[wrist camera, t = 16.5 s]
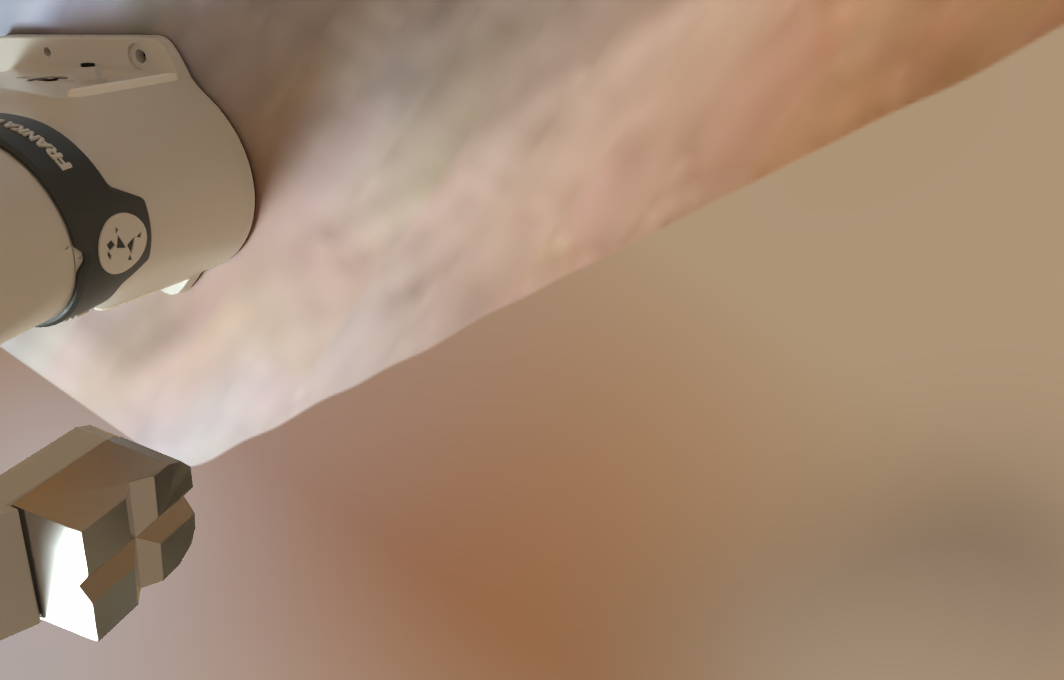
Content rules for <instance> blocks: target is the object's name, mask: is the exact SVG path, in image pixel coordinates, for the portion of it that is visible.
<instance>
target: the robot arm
mask: <svg viewBox="0 0 1064 680" xmlns="http://www.w3.org/2000/svg"><path fill="white" fill-rule="evenodd" d="M143 52H144V53H145V55H146V59H145V58H144V56H143ZM254 208H255V192H254V183H253V177H252V173H251V168H250V165H249V162H248V159H247V156H246V153H245V151H244V148H243V146H242V144H241V142H240V140H239V138H238V136H237V134H236V132H235V130H234V129H233V127H232V126H231V124H230V122H229V121H228V120H227V118H226V117H225V115H224V114H223V113H222V112H221V110H220V109H219V108H218V107H217V106H216V105H215V103H214V102H213V101H212V100H211V99H210V98H209V97H208V96H207V95H206V94H205V93H204V92H203V91H202V90H201V89H200V88H199V87H198V86H197V84H196V83H195V82H194V81H193V79H192V78H191V76H190V74H189V71H188V69H187V68H186V66H185V64H184V62H183V60H182V58H181V56H180V54H179V53H178V51H177V49H176V48H175V46H174V45H173V44H172V43H171V42H170V40H168V39H167V38H166V37H164V36H161V35H62V34H11V35H6V36H2V37H0V344H2V343H4V342H6V341H8V340H10V339H12V338H14V337H16V336H18V335H20V334H21V333H24V332H26V331H28V330H30V329H32V328H34V327H48V326H52V325H56V324H58V323H60V322H63V321H67V320H71V319H73V318H76V317H79V316H81V315H83V314H85V313H87V312H89V309H91V308H95V309H96V310H99V311H104V310H109V309H112V308H115V307H117V306H120V305H123V304H125V303H128V302H131V301H133V300H136V299H139V298H141V297H144V296H147V295H149V294H152V293H154V292H157V291H159V290H161V291H163V292H165V293H167V294H169V295H177V294H180V293H182V292H185V291H187V290H188V289H189V288H191V286H192V285H193V284H194V283H195V281H196V280H197V278H198V277H199V275H200V274H201V273H202V272H203V271H205V270H207V269H209V268H212V267H214V266H217V265H219V264H222V263H224V262H225V261H227V260H228V259H230V258H231V257H232V256H234V255H235V254H236V253H237V252H238V250H239V249H240V248H241V247H242V245H243V244H244V242H245V240H246V238H247V236H248V234H249V232H250V229H251V226H252V222H253V216H254ZM192 487H193V484H192V475H191V467H190V466H188V465H186V464H185V463H183V462H181V461H179V460H177V459H174V458H172V457H169V456H167V455H164V454H162V453H159V452H157V451H155V450H152V449H150V448H147V447H145V446H142V445H140V444H138V443H135V442H133V441H130V440H128V439H125V438H123V437H119V436H117V435H114V434H112V433H109V432H107V431H104V430H102V429H99V428H97V427H94V426H92V425H87V426H81V427H76V428H74V429H73V430H71V431H69V432H68V433H66V434H65V435H63V436H62V437H60V438H58V439H57V440H55V441H54V442H52V443H50V444H49V445H48V446H46V447H44V448H43V449H41V450H39V451H38V452H36V453H35V454H33V455H31V456H30V457H28V458H27V459H25V460H24V461H22V462H20V463H19V464H17V465H16V466H14V467H12V468H11V469H9V470H8V471H6V472H5V473H3V474H1V475H0V640H2V639H4V638H7V637H9V636H11V635H14V634H16V633H18V632H20V631H23V630H25V629H27V628H30V627H32V626H34V625H37V624H39V623H40V622H41V620H40V619H43V620H45V621H48V622H50V623H52V624H55V625H57V626H60V627H62V628H65V629H67V630H70V631H72V632H75V633H77V634H79V635H82V636H85V637H87V638H89V639H92V640H94V641H97V642H99V641H100V640H101V639H102V638H103V637H104V636H105V635H106V634H107V633H108V632H109V631H110V630H111V629H113V627H115V626H116V625H117V624H118V623H119V622H120V621H121V620H122V619H123V618H124V617H125V616H126V615H127V614H128V613H129V612H131V611H132V610H133V609H134V608H135V607H136V606H137V605H138V601H139V595H140V590H141V588H142V587H145V586H148V585H151V584H154V583H157V582H160V581H163V580H164V579H165V578H166V577H167V576H168V575H169V574H170V573H171V572H172V571H173V570H174V569H175V568H176V567H177V566H178V565H179V564H180V563H181V561H182V559H183V557H184V556H185V554H186V552H187V551H188V549H189V547H190V545H191V543H192V539H193V534H194V530H195V514H194V512H193V510H192V508H191V507H190V505H189V503H188V502H187V500H186V499H185V497H184V495H185V494H186V493H187V492H188V491H189V490H190V489H191V488H192Z"/></svg>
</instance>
